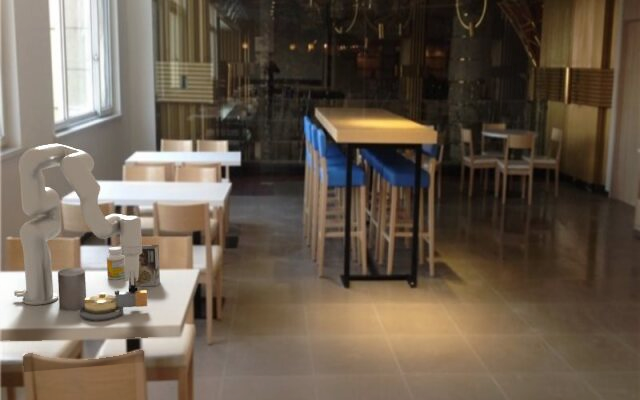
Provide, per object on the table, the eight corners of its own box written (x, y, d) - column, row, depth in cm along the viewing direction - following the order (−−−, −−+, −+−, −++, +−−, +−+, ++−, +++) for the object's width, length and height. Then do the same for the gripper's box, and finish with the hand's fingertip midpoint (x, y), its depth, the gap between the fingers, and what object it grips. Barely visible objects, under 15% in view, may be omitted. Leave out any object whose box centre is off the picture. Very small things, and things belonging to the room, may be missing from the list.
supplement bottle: (107, 275, 305) (106, 246, 303) (124, 274, 307) (123, 245, 305) (107, 280, 299) (106, 250, 296) (125, 279, 301) (124, 249, 298)
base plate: (78, 322, 249) (78, 316, 249) (82, 308, 264) (81, 302, 263) (122, 319, 253) (122, 313, 252) (124, 306, 267) (123, 299, 267)
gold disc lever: (82, 314, 251) (82, 298, 250) (85, 303, 262) (85, 288, 261) (147, 310, 256) (146, 294, 255) (147, 300, 267) (146, 284, 266)
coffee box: (160, 281, 298) (159, 244, 295) (156, 286, 291) (155, 248, 288) (138, 281, 298) (137, 244, 295) (134, 286, 291) (133, 248, 288)
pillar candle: (56, 305, 267) (53, 267, 264) (81, 300, 273) (79, 262, 270) (64, 312, 260) (62, 273, 257) (90, 307, 266) (88, 269, 263)
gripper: (121, 245, 268) (123, 291, 272) (120, 255, 254) (122, 304, 257) (142, 244, 270) (143, 290, 273) (141, 254, 256) (143, 303, 259)
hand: (133, 297), depth 265 cm, fingers closed
